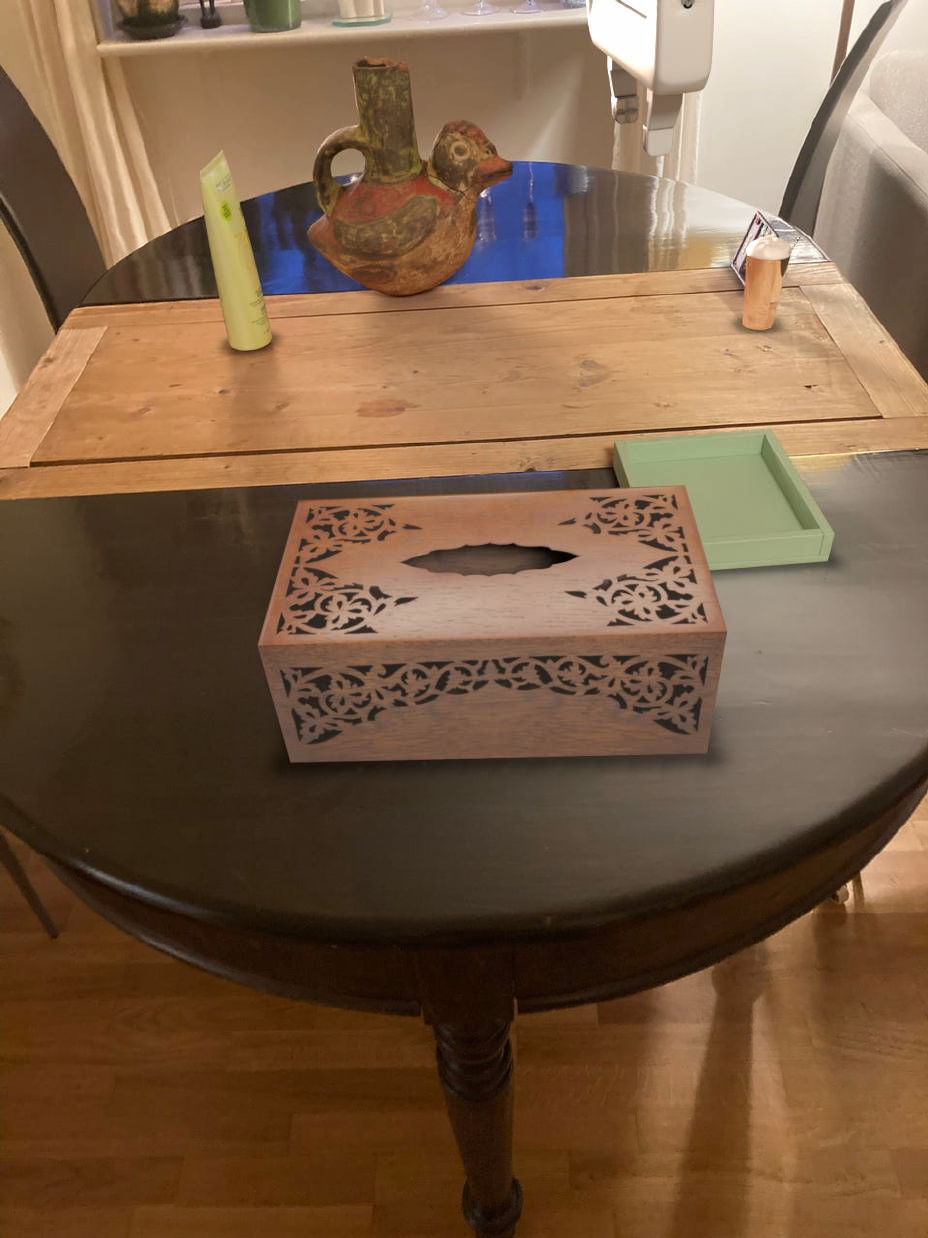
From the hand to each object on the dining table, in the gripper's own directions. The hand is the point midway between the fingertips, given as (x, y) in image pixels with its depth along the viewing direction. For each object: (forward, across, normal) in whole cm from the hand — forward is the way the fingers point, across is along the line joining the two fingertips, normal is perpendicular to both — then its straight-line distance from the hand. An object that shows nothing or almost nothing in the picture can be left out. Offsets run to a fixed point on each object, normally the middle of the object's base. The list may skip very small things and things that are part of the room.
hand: (640, 136), depth 69 cm
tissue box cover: (+25, -30, +16) cm, 42 cm away
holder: (+25, -14, -4) cm, 29 cm away
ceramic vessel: (+25, +41, +17) cm, 51 cm away
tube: (+25, +29, +37) cm, 53 cm away
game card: (+26, +32, -24) cm, 48 cm away
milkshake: (+26, +20, -20) cm, 38 cm away
